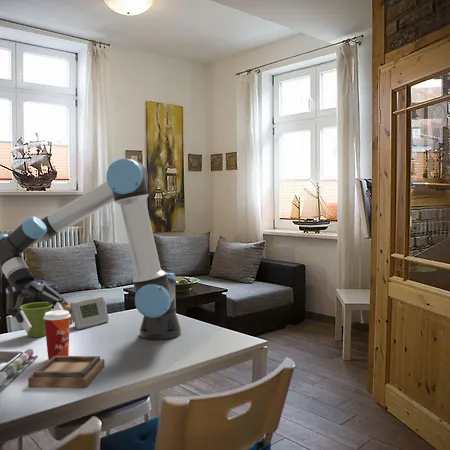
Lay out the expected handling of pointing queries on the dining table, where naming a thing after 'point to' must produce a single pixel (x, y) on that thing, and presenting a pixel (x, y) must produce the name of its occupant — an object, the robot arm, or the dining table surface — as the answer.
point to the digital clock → (89, 312)
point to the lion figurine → (67, 308)
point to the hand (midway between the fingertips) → (48, 324)
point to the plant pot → (36, 317)
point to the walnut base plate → (67, 372)
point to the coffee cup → (57, 332)
